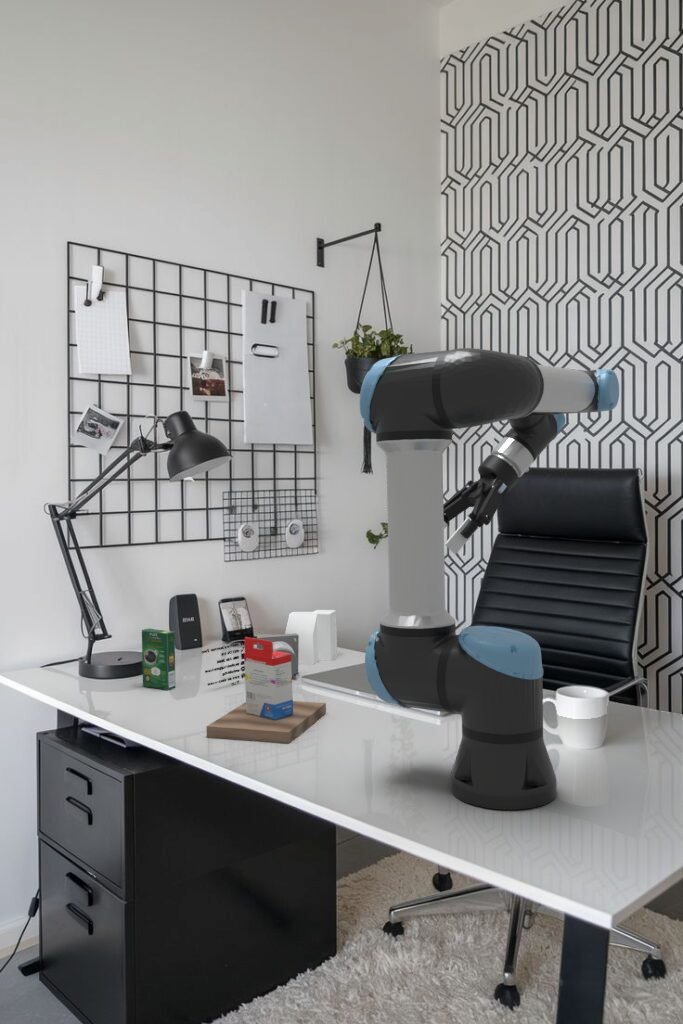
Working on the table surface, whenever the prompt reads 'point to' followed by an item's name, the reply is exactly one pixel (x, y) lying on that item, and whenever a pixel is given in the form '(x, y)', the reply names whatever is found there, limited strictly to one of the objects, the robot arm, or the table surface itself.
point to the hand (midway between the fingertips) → (435, 546)
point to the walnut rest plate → (266, 724)
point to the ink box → (267, 680)
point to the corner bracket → (314, 635)
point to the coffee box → (158, 658)
